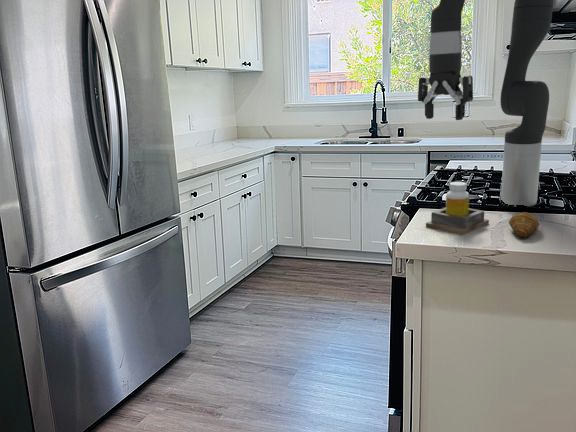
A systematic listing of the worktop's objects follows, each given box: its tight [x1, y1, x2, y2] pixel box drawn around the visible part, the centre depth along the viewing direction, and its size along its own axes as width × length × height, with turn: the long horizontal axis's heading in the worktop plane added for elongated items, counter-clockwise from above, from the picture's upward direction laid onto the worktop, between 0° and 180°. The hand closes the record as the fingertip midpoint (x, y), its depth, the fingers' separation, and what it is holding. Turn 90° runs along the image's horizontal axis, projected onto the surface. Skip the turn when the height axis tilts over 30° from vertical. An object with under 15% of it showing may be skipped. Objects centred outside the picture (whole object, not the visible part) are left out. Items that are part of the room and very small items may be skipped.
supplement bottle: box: [445, 181, 470, 217], centre depth 128 cm, size 5×5×10 cm
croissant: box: [508, 211, 541, 240], centre depth 122 cm, size 14×7×5 cm, turn 153°
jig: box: [425, 207, 490, 236], centre depth 129 cm, size 12×10×4 cm
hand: (444, 119), depth 130 cm, fingers open, 8 cm apart
